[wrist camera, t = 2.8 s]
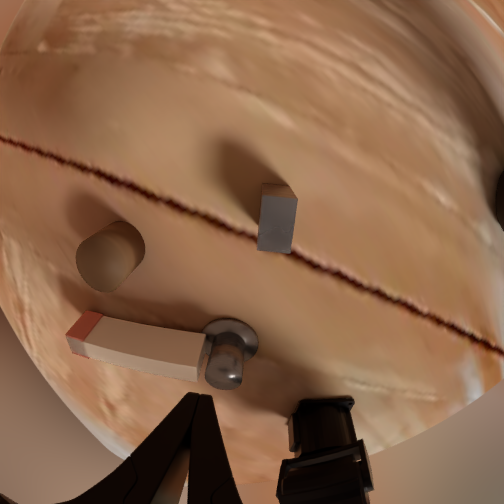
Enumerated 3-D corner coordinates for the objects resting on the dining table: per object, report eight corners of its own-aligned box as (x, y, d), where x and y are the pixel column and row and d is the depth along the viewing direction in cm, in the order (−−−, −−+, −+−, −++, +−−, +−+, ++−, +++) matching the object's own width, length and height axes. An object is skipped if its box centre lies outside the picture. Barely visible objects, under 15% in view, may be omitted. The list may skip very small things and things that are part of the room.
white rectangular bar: (205, 332, 22) (196, 365, 18) (205, 350, 23) (197, 383, 19) (86, 310, 22) (65, 334, 18) (91, 328, 23) (72, 353, 19)
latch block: (289, 186, 18) (297, 198, 14) (284, 228, 19) (290, 253, 15) (262, 183, 18) (262, 195, 14) (258, 226, 19) (257, 250, 15)
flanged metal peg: (261, 321, 22) (260, 359, 18) (255, 363, 24) (253, 400, 20) (200, 314, 22) (188, 351, 18) (201, 357, 24) (192, 393, 20)
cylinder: (143, 222, 19) (119, 241, 15) (146, 270, 21) (126, 296, 17) (100, 219, 19) (72, 236, 15) (105, 265, 21) (81, 287, 17)
